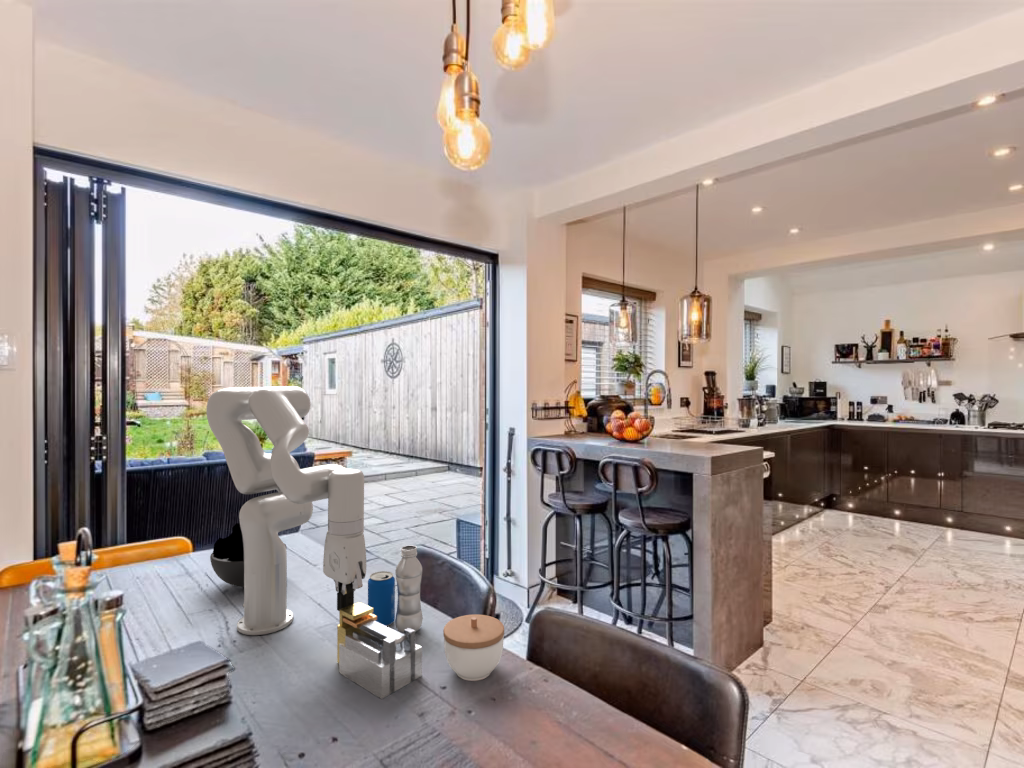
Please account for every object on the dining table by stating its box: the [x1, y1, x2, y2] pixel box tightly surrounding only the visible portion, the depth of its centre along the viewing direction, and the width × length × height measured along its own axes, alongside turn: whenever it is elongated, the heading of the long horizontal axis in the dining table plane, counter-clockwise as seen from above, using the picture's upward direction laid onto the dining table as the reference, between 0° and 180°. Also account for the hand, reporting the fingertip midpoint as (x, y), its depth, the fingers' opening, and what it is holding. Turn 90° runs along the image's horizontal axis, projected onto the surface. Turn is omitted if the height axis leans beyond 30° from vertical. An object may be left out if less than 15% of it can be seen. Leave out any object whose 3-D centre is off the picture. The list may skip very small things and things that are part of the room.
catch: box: [336, 601, 373, 664], centre depth 113 cm, size 5×6×11 cm
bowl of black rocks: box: [209, 522, 287, 588], centre depth 154 cm, size 20×20×19 cm
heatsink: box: [338, 628, 423, 700], centre depth 108 cm, size 14×10×10 cm
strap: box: [343, 613, 408, 645], centre depth 108 cm, size 16×5×1 cm, turn 51°
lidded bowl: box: [442, 613, 505, 682], centre depth 109 cm, size 13×13×11 cm
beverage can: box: [367, 570, 396, 627], centre depth 130 cm, size 6×6×12 cm
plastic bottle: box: [394, 544, 424, 634], centre depth 126 cm, size 6×7×20 cm
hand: (345, 609), depth 115 cm, fingers closed
